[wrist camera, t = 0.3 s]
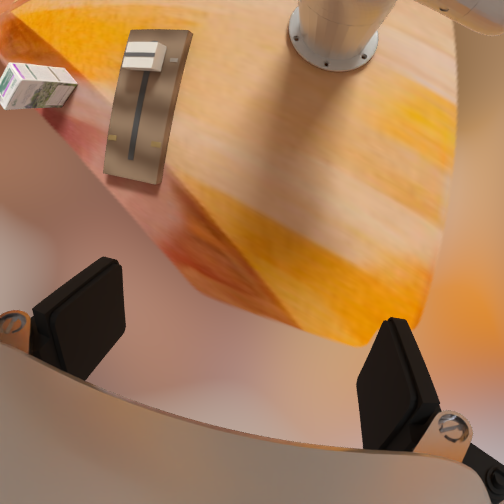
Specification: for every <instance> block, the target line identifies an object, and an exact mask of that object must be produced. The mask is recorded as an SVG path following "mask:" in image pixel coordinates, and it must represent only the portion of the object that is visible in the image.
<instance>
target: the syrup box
mask: <svg viewBox="0 0 504 504" xmlns="http://www.w3.org/2000/svg"><path fill="white" fill-rule="evenodd" d="M76 86H77V83H76V81H75V80H74V79H73V78H72V76H71V75H70V74H69V73H68V72H67V70H66V69H65V68H59V67H49V66H41V65H32V64H23V63H9V64H8V66H7V67H6V69H5V71H4V73H3V75H2V77H1V79H0V104H1V105H2V107H3V108H4V110H10V109H24V108H51V107H62V106H63V104H64V103H65V101H66V100H67V99H68V97H69V96H70V94H71V93H72V91H73V90H74V88H75V87H76Z"/></svg>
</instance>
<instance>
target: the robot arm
mask: <svg viewBox="0 0 504 504" xmlns="http://www.w3.org/2000/svg"><path fill="white" fill-rule="evenodd" d="M414 1H416V2H418V3H420V4H422V5H425V6H427V7H429V8H431V9H433V10H435V11H437V12H439V13H440V14H442V15H444V16H446V17H448V18H450V19H452V20H454V21H455V22H457V23H459V24H461V25H463V26H465V27H467V28H469V29H471V30H472V31H475V32H477V33H480V34H483V35H488V36H496V35H501V34H503V33H504V0H414ZM395 3H396V0H298V5H299V6H298V7H297V8H296V9H295V10H294V12H293V13H292V15H291V18H290V21H289V35H290V40H291V42H292V44H293V47H294V48H295V50H296V51H297V52H298V54H299V55H300V56H301V57H302V58H303V59H304V60H306V61H307V62H309V63H310V64H312V65H314V66H316V67H318V68H320V69H324V70H327V71H333V72H345V71H351V70H354V69H357V68H359V67H361V66H362V65H364V64H366V63H367V62H368V61H369V60H370V59H371V57H372V56H373V55H374V53H375V51H376V49H377V45H378V31H377V29H378V28H379V27H380V25H381V24H382V22H383V21H384V20H385V18H386V17H387V15H388V14H389V13H390V11H391V10H392V8H393V7H394V5H395ZM295 39H298V41H295ZM362 57H364V58H365V59H362ZM324 64H328V66H325V65H324ZM32 310H33V314H34V316H33V317H31V318H30V317H29V315H28V314H27V313H25V312H23V311H19V310H13V311H8V312H5V313H3V314H1V315H0V504H504V465H502V464H501V463H499V462H498V461H497V460H495V459H494V458H492V457H491V456H489V455H488V454H486V453H485V452H483V451H482V450H481V449H479V448H478V447H476V446H475V445H473V444H472V443H470V442H471V440H472V436H473V430H472V427H471V425H470V423H469V421H468V420H467V419H466V418H465V417H464V416H463V415H461V414H460V413H457V412H455V411H450V410H446V411H441V409H440V406H439V404H440V402H439V399H438V396H437V393H436V391H435V388H434V385H433V383H432V380H431V377H430V375H429V372H428V370H427V367H426V365H425V362H424V360H423V357H422V355H421V353H420V350H419V348H418V345H417V343H416V341H415V339H414V336H413V334H412V332H411V329H410V327H409V325H408V323H407V321H406V320H405V319H399V318H393V317H390V318H389V319H388V321H386V320H385V321H383V323H382V325H381V327H380V330H379V332H378V334H377V337H376V339H375V341H374V344H373V346H372V348H371V351H370V353H369V355H368V357H367V359H366V361H365V363H364V366H363V368H362V370H361V372H360V374H359V376H358V379H357V384H356V385H357V386H356V387H357V395H358V403H359V411H360V421H361V431H362V440H363V449H355V448H344V447H334V446H325V445H316V444H308V443H301V442H294V441H286V440H281V439H275V438H269V437H264V436H259V435H254V434H249V433H244V432H240V431H235V430H231V429H226V428H222V427H218V426H214V425H210V424H207V423H202V422H199V421H195V420H192V419H188V418H185V417H182V416H178V415H175V414H172V413H168V412H165V411H162V410H159V409H156V408H153V407H150V406H147V405H144V404H142V403H139V402H136V401H133V400H131V399H128V398H125V397H123V396H120V395H118V394H115V393H112V392H110V391H107V390H105V389H103V388H100V387H98V386H95V385H93V384H91V383H89V382H86V381H85V380H86V379H87V378H88V376H89V375H90V374H91V373H92V371H93V370H94V369H95V368H96V366H97V365H98V364H99V363H100V362H101V360H102V359H103V358H104V357H105V355H106V354H107V353H108V352H109V350H110V349H111V348H112V347H113V346H114V344H115V343H116V342H117V341H118V339H119V338H120V337H121V336H122V335H123V333H124V331H125V327H126V323H125V311H124V296H123V278H122V266H121V265H119V263H118V261H117V260H115V259H111V258H107V257H101V258H100V259H98V260H97V261H95V262H94V263H93V264H91V265H90V266H88V267H87V268H86V269H84V270H83V271H81V272H80V273H79V274H77V275H76V276H74V277H73V278H72V279H70V280H69V281H68V282H66V283H65V284H64V285H62V286H61V287H60V288H58V289H57V290H56V291H54V292H53V293H52V294H51V295H49V296H48V297H47V298H45V299H44V300H43V301H41V302H40V303H39V304H37V305H36V306H35V307H34V308H33V309H32Z"/></svg>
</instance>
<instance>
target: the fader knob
mask: <svg viewBox="0 0 504 504" xmlns="http://www.w3.org/2000/svg"><path fill="white" fill-rule="evenodd" d="M166 49H167V47H166V46H165V45H163V44H161V43H159V42H128V45H127V48H126V52H125V55H124V60H123V64H122V67H123V68H127V69H130V70H143V71H160V72H161V68H162V64H163V60H164V56H165V52H166Z"/></svg>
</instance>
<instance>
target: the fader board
mask: <svg viewBox="0 0 504 504" xmlns="http://www.w3.org/2000/svg"><path fill="white" fill-rule="evenodd" d="M192 36H193V34H192V33H191V32H190V31H189V30H163V29H147V30H131V31H130V34H129V38H128V41H127V45H128V42H159V43H161V44H163V45H165V46H166V47H167V49H166V52H165V56H164V60H163V64H162V68H161V72H160V71H143V70H130V69H127V68H123V67H122V65H121V69H120V73H119V78H118V82H117V87H116V92H115V97H114V102H113V107H112V113H111V119H110V125H109V131H108V138H107V145H106V153H105V161H104V170H103V173H104V174H109V175H114V176H119V177H123V178H128V179H132V180H137V181H142V182H146V183H151V184H155V185H156V184H159V183H161V182H162V176H163V169H164V163H165V157H166V151H167V146H168V140H169V135H170V130H171V125H172V120H173V115H174V110H175V105H176V100H177V96H178V91H179V87H180V83H181V78H182V74H183V70H184V66H185V62H186V58H187V54H188V51H189V47H190V43H191V39H192ZM127 45H126V48H127ZM125 52H126V49H125ZM124 55H125V53H124ZM123 60H124V57H123ZM122 64H123V61H122Z"/></svg>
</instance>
